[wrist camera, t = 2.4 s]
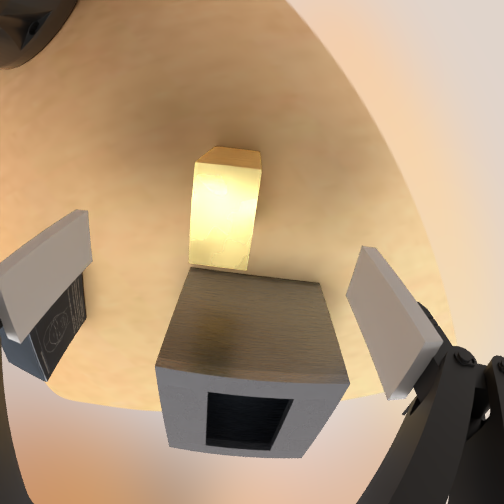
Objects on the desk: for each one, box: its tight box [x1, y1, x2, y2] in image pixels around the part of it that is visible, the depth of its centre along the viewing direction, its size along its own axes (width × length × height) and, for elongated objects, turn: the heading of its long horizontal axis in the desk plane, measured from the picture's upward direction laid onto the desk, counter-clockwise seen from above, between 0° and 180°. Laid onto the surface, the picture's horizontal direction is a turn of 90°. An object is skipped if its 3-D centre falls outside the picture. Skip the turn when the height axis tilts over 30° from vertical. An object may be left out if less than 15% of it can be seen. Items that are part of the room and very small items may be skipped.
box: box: [0, 273, 86, 382], centre depth 23 cm, size 8×6×11 cm
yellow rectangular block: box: [188, 146, 262, 271], centre depth 20 cm, size 6×4×8 cm, turn 172°
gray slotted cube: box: [155, 267, 350, 458], centre depth 24 cm, size 12×12×12 cm
